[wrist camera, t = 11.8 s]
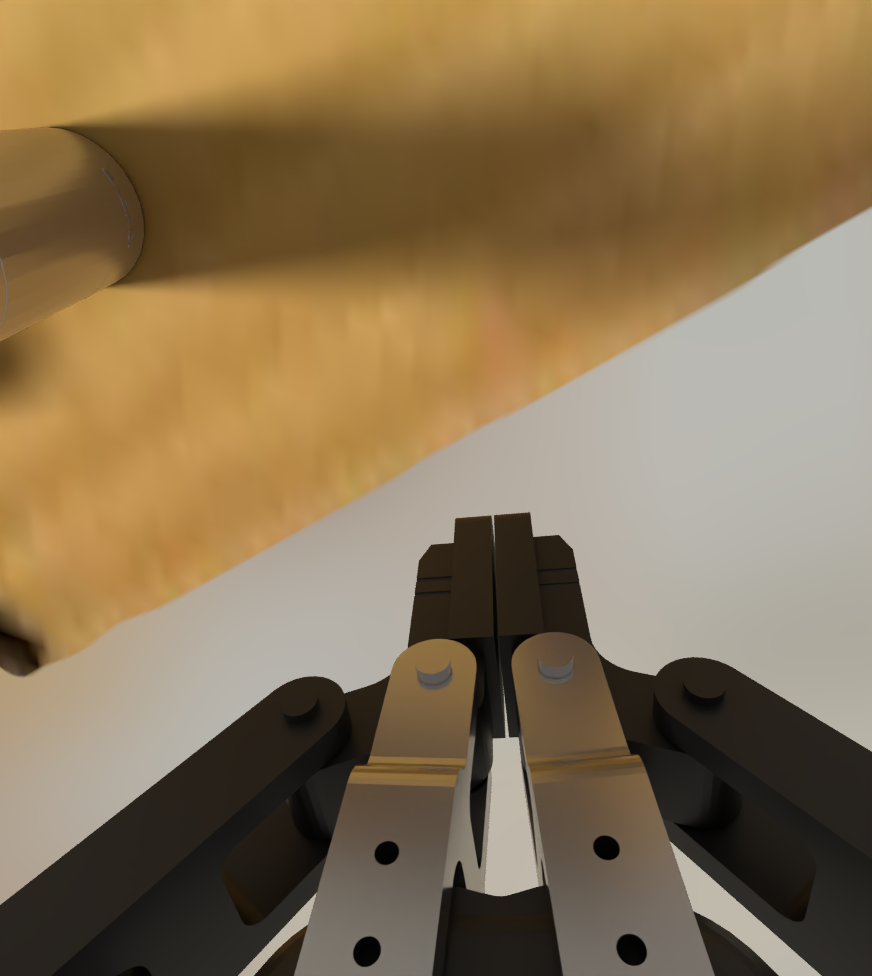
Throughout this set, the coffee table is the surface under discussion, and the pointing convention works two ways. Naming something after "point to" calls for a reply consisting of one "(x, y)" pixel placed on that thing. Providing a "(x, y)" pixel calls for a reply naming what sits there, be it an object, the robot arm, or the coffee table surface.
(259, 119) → the coffee table surface
